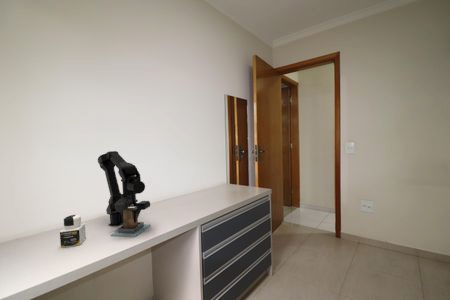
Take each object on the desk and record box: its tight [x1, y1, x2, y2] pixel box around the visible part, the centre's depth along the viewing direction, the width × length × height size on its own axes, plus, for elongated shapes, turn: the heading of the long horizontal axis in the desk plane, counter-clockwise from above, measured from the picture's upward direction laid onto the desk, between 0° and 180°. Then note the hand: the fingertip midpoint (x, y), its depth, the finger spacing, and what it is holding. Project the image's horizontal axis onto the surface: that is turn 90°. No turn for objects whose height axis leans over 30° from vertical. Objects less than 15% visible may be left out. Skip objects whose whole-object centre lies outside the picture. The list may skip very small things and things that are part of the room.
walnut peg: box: [123, 207, 139, 228], centre depth 102 cm, size 4×4×9 cm
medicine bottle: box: [59, 214, 87, 249], centre depth 91 cm, size 7×7×12 cm
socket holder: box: [109, 221, 151, 238], centre depth 102 cm, size 13×13×3 cm
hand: (130, 222), depth 102 cm, fingers closed on walnut peg, 4 cm apart
